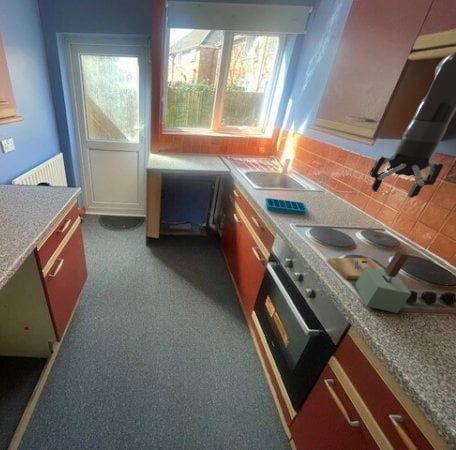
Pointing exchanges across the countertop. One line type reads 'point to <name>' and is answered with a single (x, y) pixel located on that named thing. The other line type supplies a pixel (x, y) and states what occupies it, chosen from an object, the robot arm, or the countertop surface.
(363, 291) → the grey-green block
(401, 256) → the knife
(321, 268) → the countertop surface
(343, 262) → the cutting board
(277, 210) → the ice cube tray
